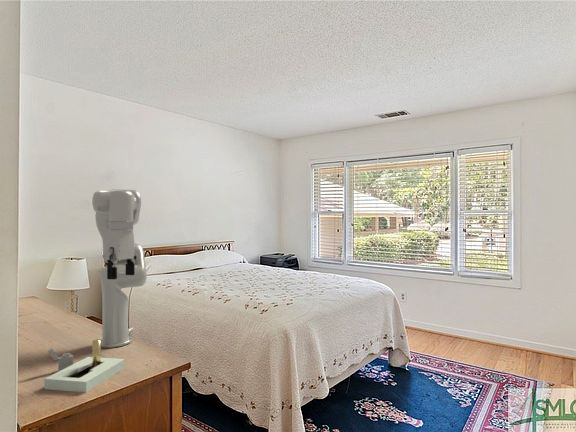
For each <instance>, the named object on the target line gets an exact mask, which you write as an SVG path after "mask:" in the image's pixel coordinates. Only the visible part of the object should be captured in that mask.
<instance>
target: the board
mask: <svg viewBox="0 0 576 432" xmlns="http://www.w3.org/2000/svg"><path fill="white" fill-rule="evenodd" d="M91 367H92V356H86V357H84V358H83V359H81V360H79V361H77V362H75V363H73V365H71V366H69V367H67V368H65V369H63V370H61V371H59V372H58V371H57V372H55V373H53V374H51V375H49V376H47V377H45V378H44V381H43V382H44V383H43V384H44V385H43V389H44V390H53V391H63V392H74V393H75V392H78V393H88V392H89V391H91V390H93V389H94V388H96V387H97V386H99V385H101V384H102V383H104V382H106V381H107V380H109V379H110V378H112V377H114V375H116V374H118V373H120V372H121V371H123V370H124V369H126V358H114V357H101V364H100V365H98V366H96V367H94V368H93V369H91V370H90V372H89V371H88V373H86V374H84V375H83V376H80V377H73V376H75V375H76V374H78V373H80V372H82V371H84V370H86V369H87V368H88V369H89V368H91Z"/></svg>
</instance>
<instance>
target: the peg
mask: <svg viewBox="0 0 576 432" xmlns="http://www.w3.org/2000/svg"><path fill="white" fill-rule="evenodd" d="M101 340H102V339H93V340H92V342H91V343H92V346H91V347H92V349H91V353H92V354H91V355H92V356H91V357H92V367H89V368H88V373H89V372H90V370H91V369H93V368H94V367H96V366H98V365H100V364H101V358H102V355H101V354H102V353H101V352H102V350H101V349H102V347H101Z"/></svg>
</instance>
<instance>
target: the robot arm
mask: <svg viewBox="0 0 576 432" xmlns="http://www.w3.org/2000/svg"><path fill="white" fill-rule="evenodd" d="M91 202H92V208H93V210H94V212H95V226H96V228H97V230H98V232H99V234H100V237H101V240H102V258H103V262H104V264H105V266H104V267H103V268H102V269H101V270H100V273H99V280H100V282H99V283H100V286H101V296H102V297H101V299H102V304H101V305H102V313H101V314H102V321H101V322H102V325H101V326H102V329H101V330H102V337H101V338H102V339H100V340H101V348H103V349H104V348H105V349H107V348H110V349H111V348H119V347H123V346H126V345H128V344H131V343H132V342H133V337H132V336H130V334H131V333H133V332H134V330H135V329H134V327H133V326H131V327H130V328H129V298H128V296H127V294H126V293H125V292H124V291H123V290H122V289H126V288H128V289H129V288H139V287H143V286H144V285H145V284H146V283H147V269H146V268H147V267H146V260H145V252H144V248H143V246H142V245H141V244H139V243H135V235H134V226H135V225H137V224H138V222H139V219H140V213H141V207H142V197H141V194H140V192H138V191H137V190H135V189H113V188H112V189H108V190H96V191H95V192H94V193H93V194H92V201H91Z"/></svg>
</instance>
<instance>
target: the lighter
mask: <svg viewBox="0 0 576 432" xmlns="http://www.w3.org/2000/svg"><path fill="white" fill-rule="evenodd" d="M47 352H48V354H49V355H50V357H51V358H52V360H53V362H56V361H58V362H57V363H58V365H57V369H58V370H57V372H59V371H61V370H63V369H65V368H67V367H69V366H71V365H73V364H74V355H73V354H71V353H69V352H65V353H62V354H61V356H60V357H58V355H57V353H56V351H55V350H54V349H53V347H50V348H49V349H47Z"/></svg>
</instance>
